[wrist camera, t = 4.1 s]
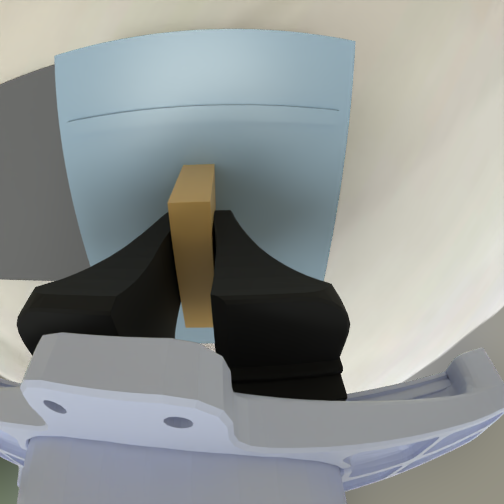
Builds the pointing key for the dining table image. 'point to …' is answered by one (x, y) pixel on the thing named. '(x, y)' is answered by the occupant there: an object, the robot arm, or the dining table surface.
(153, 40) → the lid
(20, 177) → the mat
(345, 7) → the dining table surface
